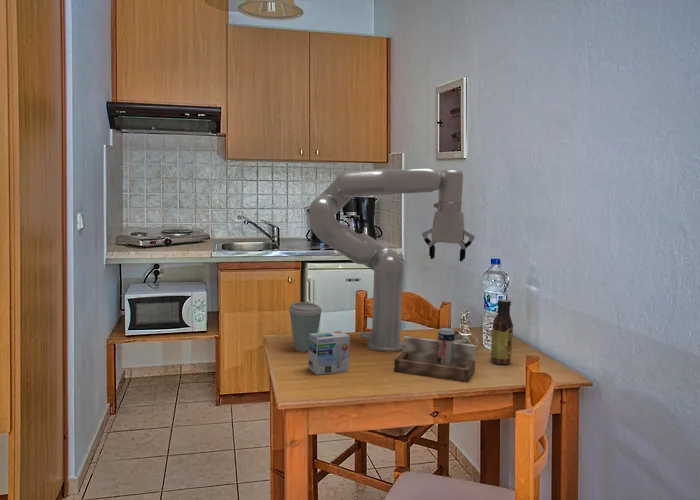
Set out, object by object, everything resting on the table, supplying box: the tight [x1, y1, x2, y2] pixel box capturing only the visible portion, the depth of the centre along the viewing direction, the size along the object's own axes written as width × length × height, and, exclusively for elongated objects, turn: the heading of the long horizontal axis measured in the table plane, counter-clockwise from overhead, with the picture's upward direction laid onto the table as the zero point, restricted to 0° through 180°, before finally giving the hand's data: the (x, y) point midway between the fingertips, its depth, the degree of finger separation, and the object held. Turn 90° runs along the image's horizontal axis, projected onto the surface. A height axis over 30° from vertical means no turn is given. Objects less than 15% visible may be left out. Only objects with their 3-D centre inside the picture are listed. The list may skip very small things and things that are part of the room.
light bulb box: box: [307, 330, 351, 376], centre depth 186 cm, size 11×7×11 cm, turn 117°
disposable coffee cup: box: [288, 301, 323, 353], centre depth 206 cm, size 11×11×15 cm
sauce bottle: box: [490, 298, 514, 365], centre depth 199 cm, size 6×6×20 cm
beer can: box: [437, 327, 455, 366], centre depth 188 cm, size 5×5×12 cm
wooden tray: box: [393, 335, 477, 382], centre depth 189 cm, size 22×11×8 cm, turn 70°
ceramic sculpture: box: [454, 330, 472, 345], centre depth 205 cm, size 11×9×15 cm
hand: (446, 259), depth 209 cm, fingers open, 9 cm apart
